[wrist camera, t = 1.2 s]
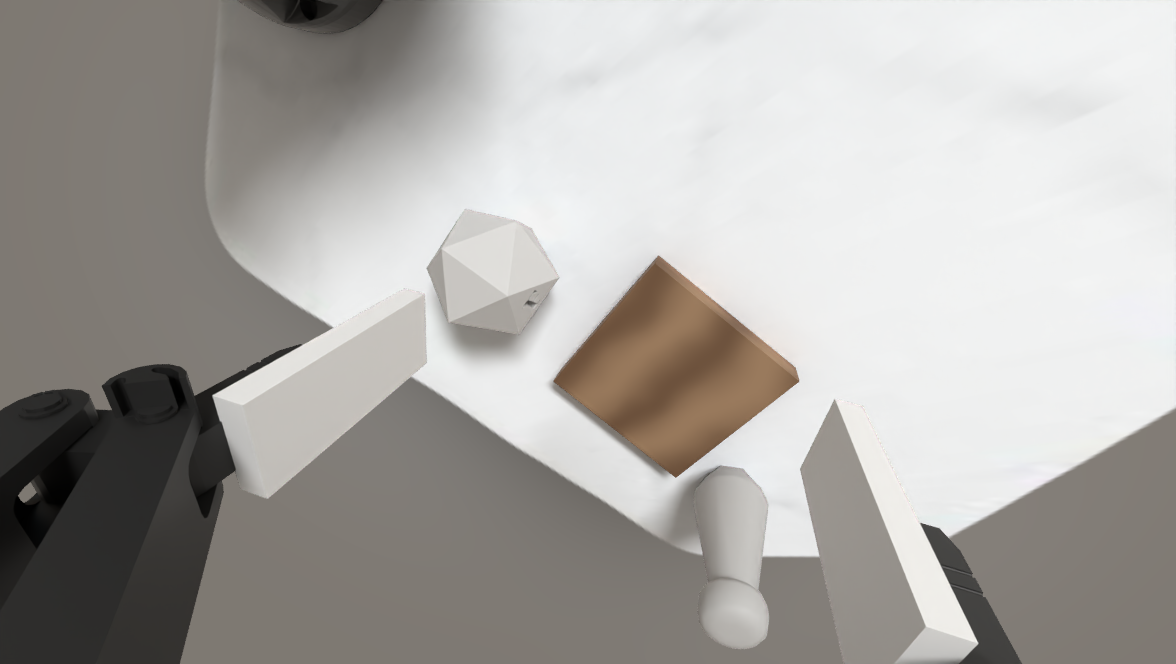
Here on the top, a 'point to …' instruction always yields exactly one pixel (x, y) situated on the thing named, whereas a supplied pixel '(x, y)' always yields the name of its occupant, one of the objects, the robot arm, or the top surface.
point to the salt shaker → (732, 557)
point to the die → (491, 273)
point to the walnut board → (674, 370)
